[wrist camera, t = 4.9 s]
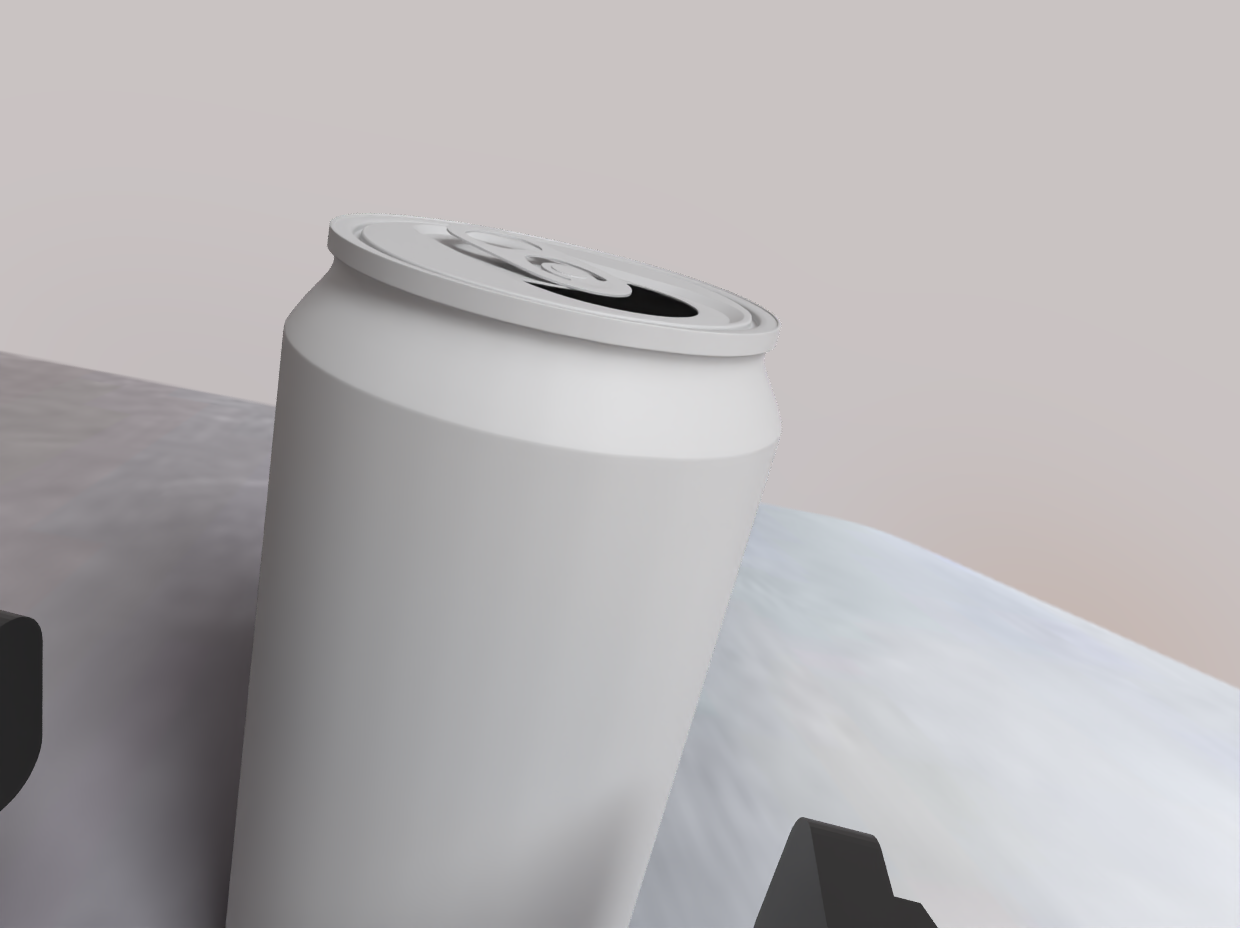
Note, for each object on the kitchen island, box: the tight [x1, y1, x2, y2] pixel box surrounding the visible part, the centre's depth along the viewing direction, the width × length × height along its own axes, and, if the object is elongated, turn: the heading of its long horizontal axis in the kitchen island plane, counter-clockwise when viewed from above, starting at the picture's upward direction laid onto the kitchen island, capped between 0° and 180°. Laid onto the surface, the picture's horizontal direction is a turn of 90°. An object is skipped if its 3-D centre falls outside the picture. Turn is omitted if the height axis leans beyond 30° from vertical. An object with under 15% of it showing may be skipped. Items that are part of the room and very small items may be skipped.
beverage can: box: [226, 213, 782, 928], centre depth 13 cm, size 6×6×12 cm
